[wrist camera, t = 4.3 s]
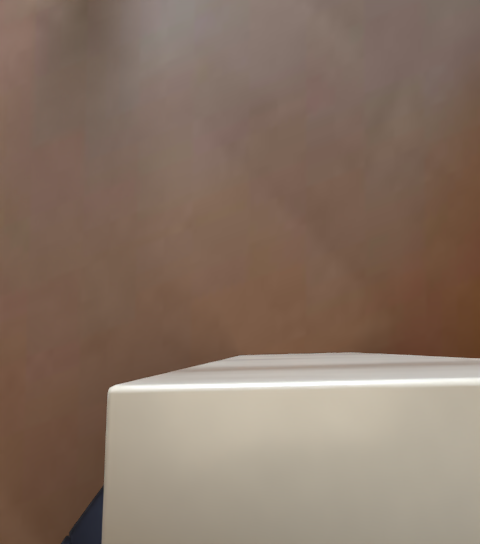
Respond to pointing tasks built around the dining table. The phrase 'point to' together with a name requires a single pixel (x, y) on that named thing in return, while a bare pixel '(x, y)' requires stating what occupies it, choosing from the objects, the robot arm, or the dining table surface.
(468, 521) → the block
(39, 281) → the dining table surface
